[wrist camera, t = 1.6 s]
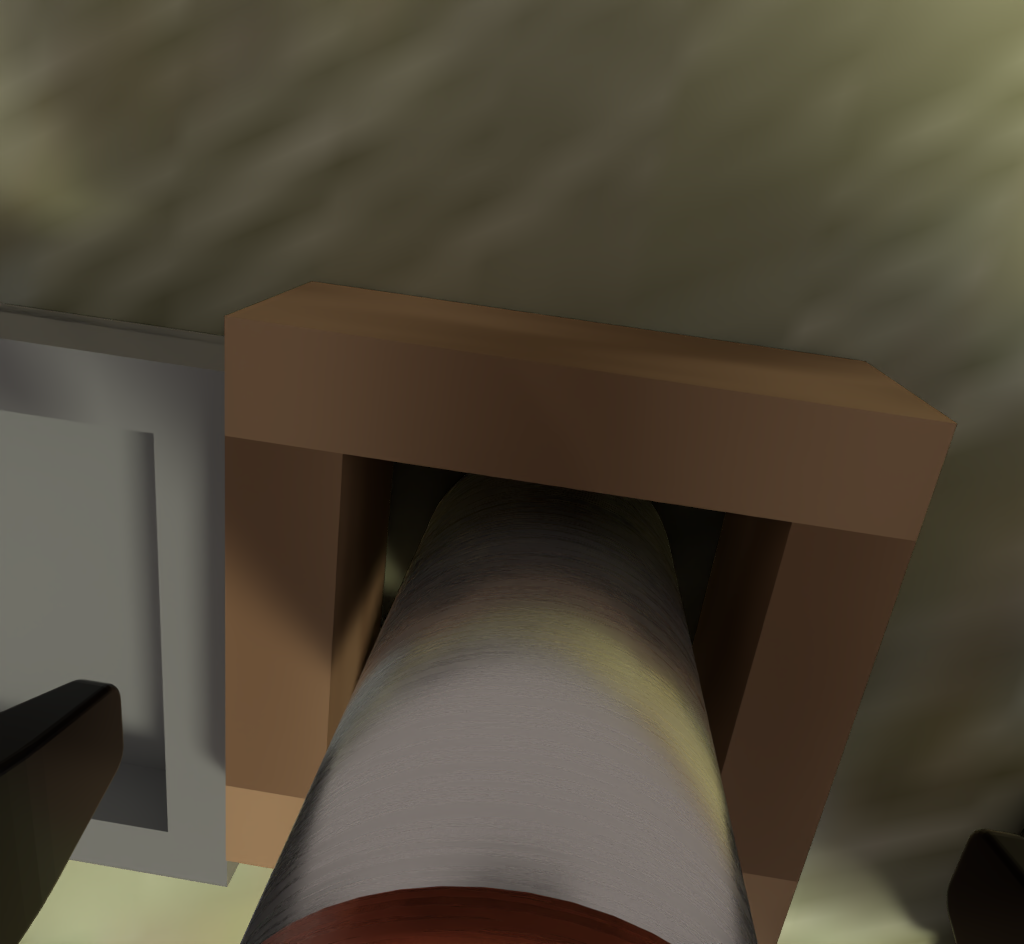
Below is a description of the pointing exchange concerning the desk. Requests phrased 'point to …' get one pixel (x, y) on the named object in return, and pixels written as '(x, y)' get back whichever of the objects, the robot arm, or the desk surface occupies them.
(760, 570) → the socket block
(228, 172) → the desk surface
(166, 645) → the tray
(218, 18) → the desk surface
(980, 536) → the desk surface
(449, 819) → the grey and red cylinder
